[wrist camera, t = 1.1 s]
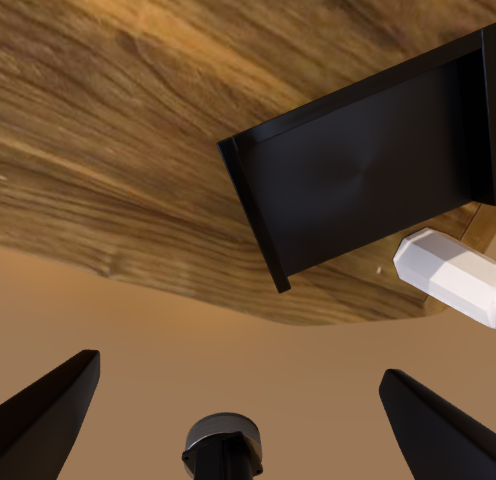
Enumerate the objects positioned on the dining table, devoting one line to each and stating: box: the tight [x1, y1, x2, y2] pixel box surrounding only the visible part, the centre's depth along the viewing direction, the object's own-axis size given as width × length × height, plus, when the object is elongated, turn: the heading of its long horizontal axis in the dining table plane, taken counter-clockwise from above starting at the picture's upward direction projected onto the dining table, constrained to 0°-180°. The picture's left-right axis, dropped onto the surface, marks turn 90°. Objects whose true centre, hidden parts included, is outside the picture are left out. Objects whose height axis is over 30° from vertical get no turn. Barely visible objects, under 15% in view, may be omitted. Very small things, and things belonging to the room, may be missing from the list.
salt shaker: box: [393, 227, 496, 329], centre depth 20 cm, size 5×5×11 cm
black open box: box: [217, 22, 496, 293], centre depth 18 cm, size 9×14×8 cm, turn 112°
